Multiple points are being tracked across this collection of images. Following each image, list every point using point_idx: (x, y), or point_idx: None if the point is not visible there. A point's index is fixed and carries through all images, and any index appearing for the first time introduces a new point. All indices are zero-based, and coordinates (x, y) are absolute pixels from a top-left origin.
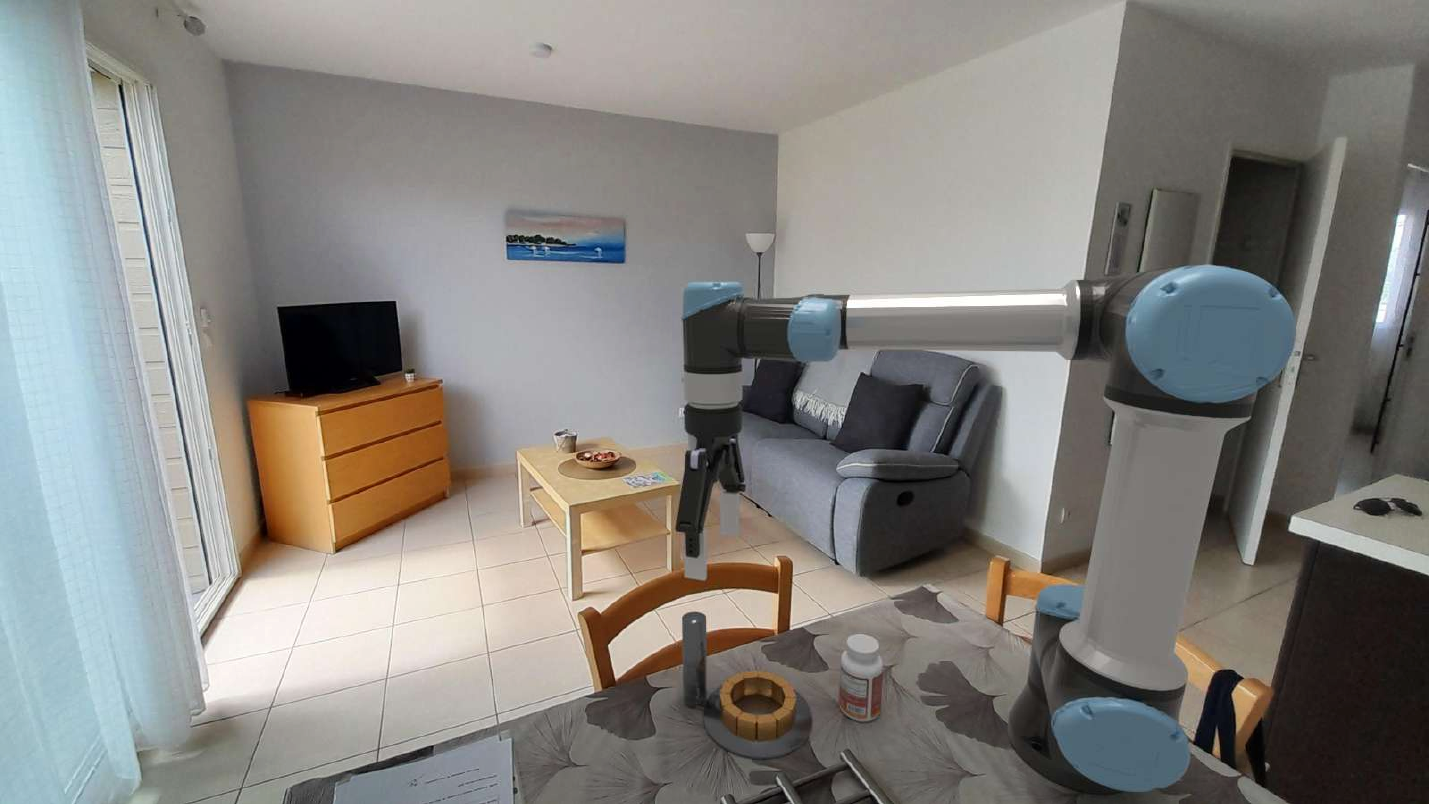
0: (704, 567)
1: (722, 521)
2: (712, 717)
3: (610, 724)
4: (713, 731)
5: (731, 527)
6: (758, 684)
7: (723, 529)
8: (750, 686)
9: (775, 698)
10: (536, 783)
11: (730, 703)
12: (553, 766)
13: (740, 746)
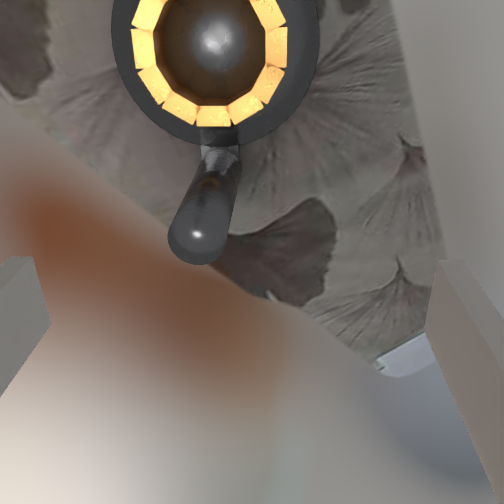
0: (483, 292)
1: (19, 356)
2: (256, 122)
3: (316, 263)
4: (286, 109)
5: (19, 305)
6: (159, 62)
7: (37, 327)
8: (169, 77)
9: (165, 19)
10: None
11: (252, 94)
12: (409, 293)
13: (304, 49)
